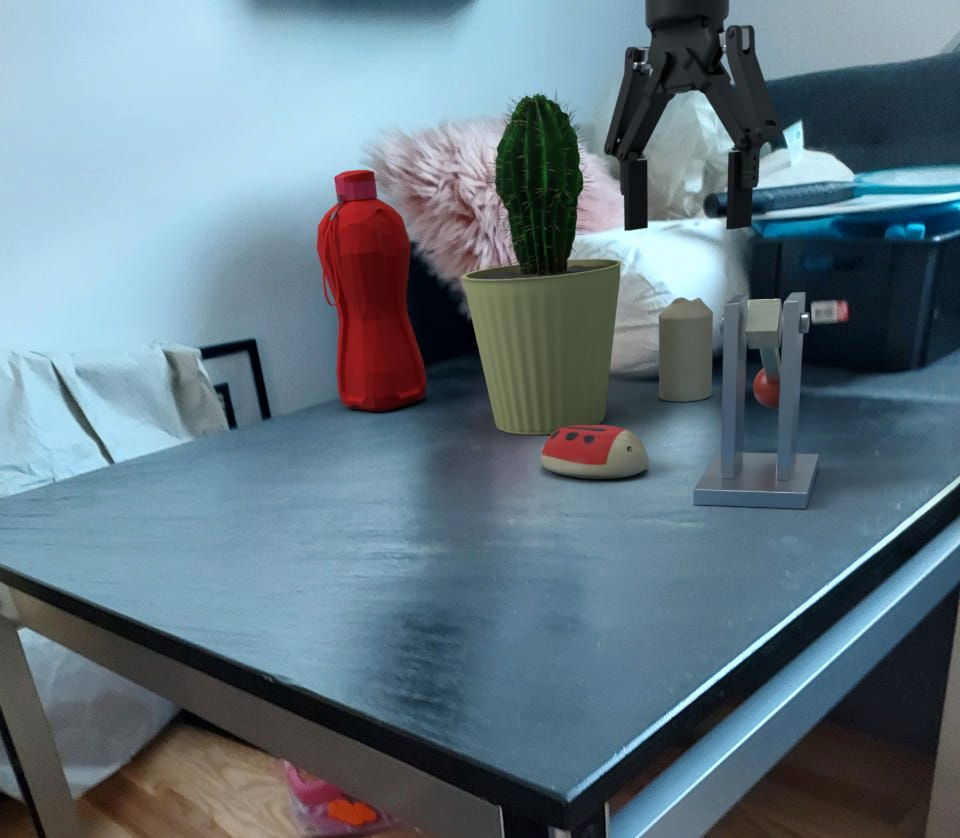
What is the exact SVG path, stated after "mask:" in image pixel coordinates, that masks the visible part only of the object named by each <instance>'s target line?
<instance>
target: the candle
mask: <svg viewBox="0 0 960 838" xmlns="http://www.w3.org/2000/svg"><path fill="white" fill-rule="evenodd" d="M713 329H714V312H713V310H712V309H711V308H710V307H709V306H708V305H707V304H706V303H705V302H704V301H703V300H702V298H701V297H697V298H694V299H692V300H690V299H687V298H686V297H677V298H674V300H672V301H671V303H669V305H667V306H666V307H665V308H664V309H663V310H662V311H661V312H660V313H659V315H658V382H659V383H658V386H659V387H658V389H659V398H660V399H661V400H663V401H667V402H677V403H679V402H694V401H695V402H696V401H701V400H704V399H707V398H710V397H711V396H712V392H713V391H712V389H713V387H712V386H713V341H714V339H713V337H714V336H713V335H714V334H713V333H714V330H713Z"/></svg>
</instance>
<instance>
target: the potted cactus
mask: <svg viewBox="0 0 960 838" xmlns="http://www.w3.org/2000/svg"><path fill="white" fill-rule="evenodd" d="M523 94H524V95H525V96H524V97H522V96H521V98H520V99H519V102H517V101H516V100H515V99H513V98H510V99H511V101H512V102H513V103H512V105H514V106H513V108H512V107H511V106H510V104H509V103H506V105H508V106H507V107H506V110H507V111H508V112H509V113H507V112H505V113H503V116H505V117H506V118H505V117H503V120H504V122H501V123H502V125H503V126H505V128H502V129H503V131H504V132H502V134H500V133H499V135H500V136H501V139H500V140H498V139H497V137H496V139H495V140H497V142H498V144H497V146H496V148H495V147H493V146H487V145H486V147H488V148H491V149H493V150H495V151H496V152H497V155H496V157H495V156H493V159H492V160H493V161H495V163H494V162H490V161H489V162H488V161H486V163H488V164H491V165H494V166H493V169H494V170H491V173H494V174H495V175H491V174H490V176H488V175H486V174H489V173H490V171H485V174H484V172H482V173H481V175H484V176H485V177H487V179H489V180H491V181H490V182H489V181H487V182H486V184H494V185H492V186H491V188H492V190H489V193H490V192H491V193H492V192H495V194H496V198H495V196H493V197H492V199H491V200H493V201H497V200H498V201H500V200H501V202H502V205H503V206H502V207H501V208H499V209H498V210H497V211H496V212H495V213H494V214H493V215H492V217H494V216H495V215H496V214H497V213H499V216H500V217H499V218H498V221H500V220H501V221H502V220H507V221H506V222H504V223H503V227H504V226H505V227H504V229H502V230H501V232H502V233H503V235H504V236H505V235H506V236H505V237H504V238H503V239H501V241H504V239H508V240H510V239H511V243H512V244H510V245H509V246H507V247H506V249H507V248H508V249H510V248H513V250H512V251H511V252H509V253H508V255H509V254H511V253H513V252H514V254H515V256H516V257H514V258H512V259H511V260H508V261H507V262H506V264H507V263H510V262H511V263H510V264H509V265H504V266H496V267H495V266H494V267H489V268H483V269H479V270H474V271H470V272H467V273H465V274H462V275H461V280H463V282H464V289H465V290H464V291H465V295H466V300H467V303H468V308H469V313H470V318H471V321H472V325H473V329H474V334H475V339H476V343H477V347H478V352H479V356H480V357H479V358H480V361H481V365H482V370H483V374H484V378H485V382H486V388H487V392H488V396H489V397H488V398H489V401H490V405H491V406H490V407H491V410H492V414H493V420H494V423H495V425H496V428H497V429H498V430H500V431H502V432H505V433H509V434H514V435H527V436H542V435H543V436H544V435H545V436H546V435H551V434H552V433H554V432H555V431H556V430H557V429H559V428H562V427H566V426H573V425H593V424H595V425H600V423H602V422H603V421H604V419H605V416H606V410H607V402H608V401H607V399H608V391H609V382H610V373H611V362H612V355H613V346H614V338H615V337H614V336H615V327H616V319H617V310H618V309H617V308H618V300H619V292H620V284H621V265H622V261H620V260H618V259H610V258H609V259H608V258H583V259H582V258H580V259H578V258H577V259H570V257H571V256H574V252H575V253H577V251H576V249H575V248H574V246H573V245H574V244H577V242H575V239H576V235H580V236H584V234H583V233H580V234H579V233H576V231H578V232H579V231H580V232H582V231H583V230H584V225H583V224H580V225H579V224H578V226H579V227H578V226H577V221H580V218H578V215H579V214H578V211H579V213H581V212H582V211H583V212H584V211H586V212H587V209H583V208H580V207H578V205H580V204H581V202H579V197H580V199H581V201H584V199H583V197H582V195H580V194H582V193H584V195H586V196H587V194H586V193H585V192H583V190H584V191H586V192H589V190H588V189H586V188H590V185H589V186H587V185H584V183H586V184H593V183H595V181H594V180H585V179H590V177H592V174H590V175H588V176H587V173H588V172H589V171H590V170H588V169H587V166H585V163H583V162H582V160H584V157H581V156H582V155H584V154H582V153H583V152H585V150H584V149H586V147H587V144H584V145H582V147H581V148H579V143H580V144H581V143H582V142H586V141H587V139H586V140H585V139H582V140H578V139H579V138H581V136H578V135H577V133H576V132H577V131H578V130H580V129H581V126H579V122H577V123H575V124H574V125H572V123H574V121H575V120H573V119H574V118H575V117H576V116H577V115H576V114H574V113H575V112H576V111H577V110H578V108H576V109H575V110H574V111H573V108H574V107H572V109H571V110H570V112H568V109H569V106H568V103H565V105H564V106H563V107H561V101H558V89H556V90H555V93H554V96H553V100H552V99H549V98H548V96H547V95H546V94H542V88H541V89H540V92H537V93H535V94H533V95H531V94H530V95H527V93H526V92H524V93H523ZM507 95H508V97H510V96H509V94H507ZM530 96H531V97H530ZM518 97H520V96H519V95H518ZM567 100H568V99H566V101H565V100H564V101H565V102H567ZM564 101H562V103H563V102H564ZM569 103H571V101H569ZM566 106H567V108H566ZM512 109H514V110H512ZM562 109H564V110H563V111H562ZM565 109H566V110H565ZM510 114H511V115H510ZM573 114H574V115H573ZM500 115H502V112H500ZM572 115H573V116H572ZM498 119H499V118H498ZM499 120H500V119H499ZM584 137H585V136H584V135H583V136H582V138H584ZM580 150H584V151H581V152H580ZM580 164H581V165H583V166H585V167H584V168H583V169H582V170H581V169H580ZM489 168H490V169H492V167H489ZM587 171H588V172H587ZM584 180H585V181H584ZM493 187H495V188H493ZM493 198H494V199H493ZM500 210H501V211H500ZM580 210H581V211H580ZM500 214H501V215H500ZM501 217H503V218H501ZM581 221H583V222H586V220H584V219H581ZM586 230H588V229H586ZM588 231H589V230H588ZM510 236H511V237H510ZM572 252H573V253H572ZM513 260H515V261H513Z"/></svg>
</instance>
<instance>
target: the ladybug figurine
mask: <svg viewBox="0 0 960 838" xmlns="http://www.w3.org/2000/svg"><path fill="white" fill-rule="evenodd" d="M540 450H541V451H540V452H541V453H540V464H541V465H542V467H543V468H545V469H546V470H547V471H550V472H552V473H554V474H558V475H560V476H561V475H562V476H566V477H572V478H579V479H587V480H588V479H589V480H591V479H592V480H612V479H613V480H614V479H623V478H628V477H631V476H635V475H638V474H640V473H642V472H643V471H644V470H646V469H647V468H648V467H649V464H650V459H649V455H648V451H647V450H646V448H645V446H644V445H643V442H642V441H641V439H639V437H637V436H636V435H635V434H634V433H632V432H631V431H630V430H628V429H626V428H623V427H618V426H612V425H606V424H605V425H604V424H597V425H595V424H593V425H573V426H566V427H562V428H559V429H557V430H556V431H555V432H554V433H552V434H550V435H549V437H548V438H547V440H546V441H545V443H544V445H543V446H542V448H541V449H540Z"/></svg>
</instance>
